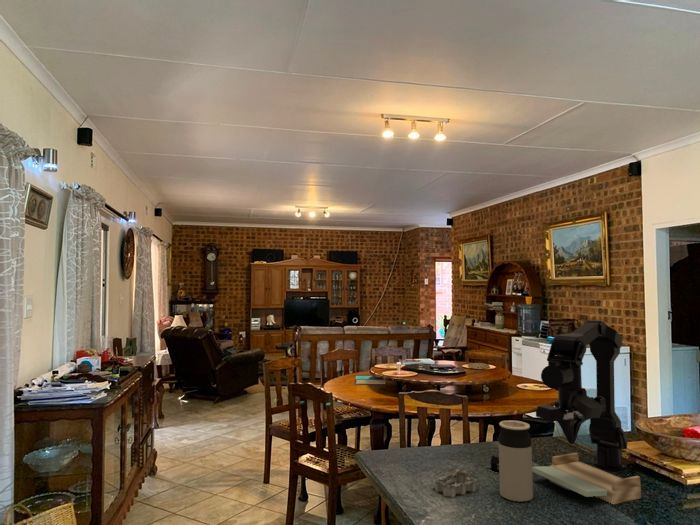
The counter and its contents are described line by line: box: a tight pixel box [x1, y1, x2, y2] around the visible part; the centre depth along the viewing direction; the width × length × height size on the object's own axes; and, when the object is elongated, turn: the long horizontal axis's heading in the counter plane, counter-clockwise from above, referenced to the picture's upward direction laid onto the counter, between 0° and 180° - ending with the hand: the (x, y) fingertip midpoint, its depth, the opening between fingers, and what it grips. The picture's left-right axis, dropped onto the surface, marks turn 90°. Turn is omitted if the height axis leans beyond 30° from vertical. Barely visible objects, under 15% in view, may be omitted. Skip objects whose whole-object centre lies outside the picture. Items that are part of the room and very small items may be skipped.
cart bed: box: [549, 452, 642, 505], centre depth 129 cm, size 10×20×5 cm, turn 22°
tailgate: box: [532, 465, 608, 498], centre depth 126 cm, size 2×18×7 cm
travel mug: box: [498, 419, 534, 503], centre depth 124 cm, size 8×8×18 cm
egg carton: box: [433, 467, 479, 498], centre depth 128 cm, size 11×8×4 cm
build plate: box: [486, 453, 499, 474], centre depth 141 cm, size 12×7×5 cm, turn 40°
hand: (571, 443), depth 127 cm, fingers closed
